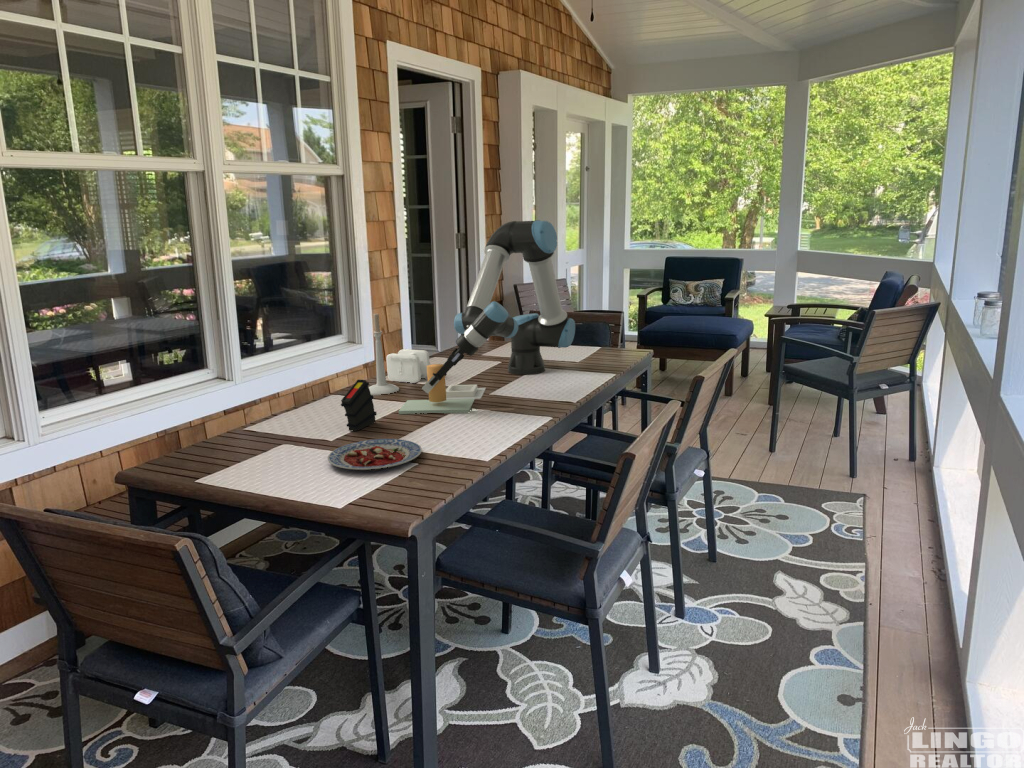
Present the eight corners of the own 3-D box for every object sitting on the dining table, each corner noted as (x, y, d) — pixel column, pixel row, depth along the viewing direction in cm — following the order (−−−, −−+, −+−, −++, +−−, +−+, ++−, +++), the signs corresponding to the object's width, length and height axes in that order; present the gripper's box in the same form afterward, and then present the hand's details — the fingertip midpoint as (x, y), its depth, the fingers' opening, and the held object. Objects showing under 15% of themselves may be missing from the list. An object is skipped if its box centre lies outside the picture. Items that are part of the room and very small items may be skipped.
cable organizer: (432, 379, 309) (431, 350, 306) (418, 384, 300) (416, 355, 297) (402, 376, 316) (400, 348, 313) (386, 382, 306) (384, 353, 304)
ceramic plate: (338, 482, 197) (337, 471, 197) (320, 454, 220) (319, 444, 220) (434, 465, 207) (433, 455, 206) (407, 440, 230) (406, 431, 229)
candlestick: (372, 386, 299) (366, 310, 292) (403, 387, 297) (398, 310, 290) (359, 395, 287) (352, 315, 280) (392, 395, 284) (385, 315, 277)
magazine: (382, 415, 252) (367, 379, 243) (362, 442, 243) (346, 406, 234) (372, 414, 254) (357, 378, 245) (352, 441, 245) (336, 405, 236)
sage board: (474, 402, 270) (474, 398, 270) (469, 413, 256) (469, 409, 256) (407, 403, 272) (407, 400, 272) (398, 414, 259) (398, 410, 258)
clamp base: (486, 390, 286) (485, 382, 285) (480, 401, 271) (480, 393, 270) (443, 391, 288) (443, 383, 287) (436, 402, 272) (435, 394, 271)
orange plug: (447, 397, 267) (445, 363, 264) (444, 402, 261) (442, 367, 259) (430, 397, 268) (428, 364, 265) (427, 402, 262) (425, 368, 259)
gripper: (466, 328, 267) (423, 374, 273) (458, 337, 249) (412, 387, 254) (482, 342, 268) (439, 389, 273) (475, 353, 250) (429, 403, 255)
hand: (426, 388), depth 264 cm, fingers closed on orange plug, 6 cm apart
